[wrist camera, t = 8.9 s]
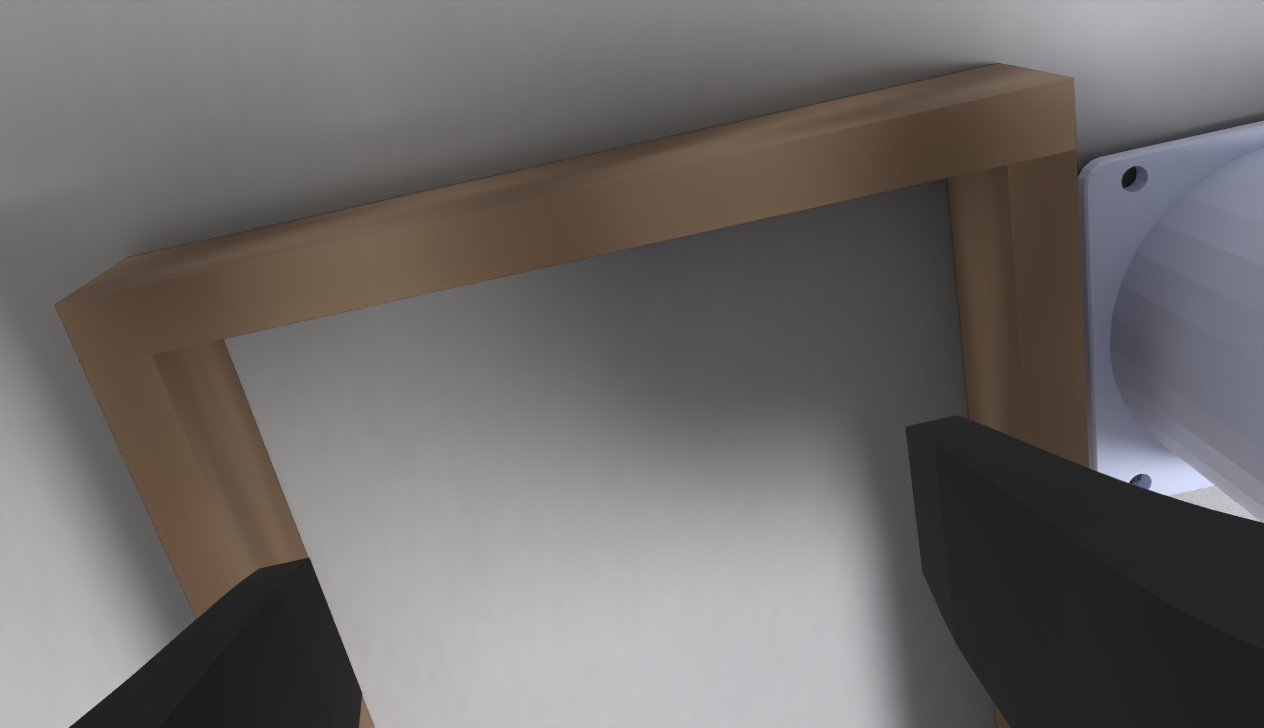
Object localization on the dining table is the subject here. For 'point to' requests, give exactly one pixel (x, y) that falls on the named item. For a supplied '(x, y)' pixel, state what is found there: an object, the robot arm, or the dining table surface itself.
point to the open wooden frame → (577, 229)
